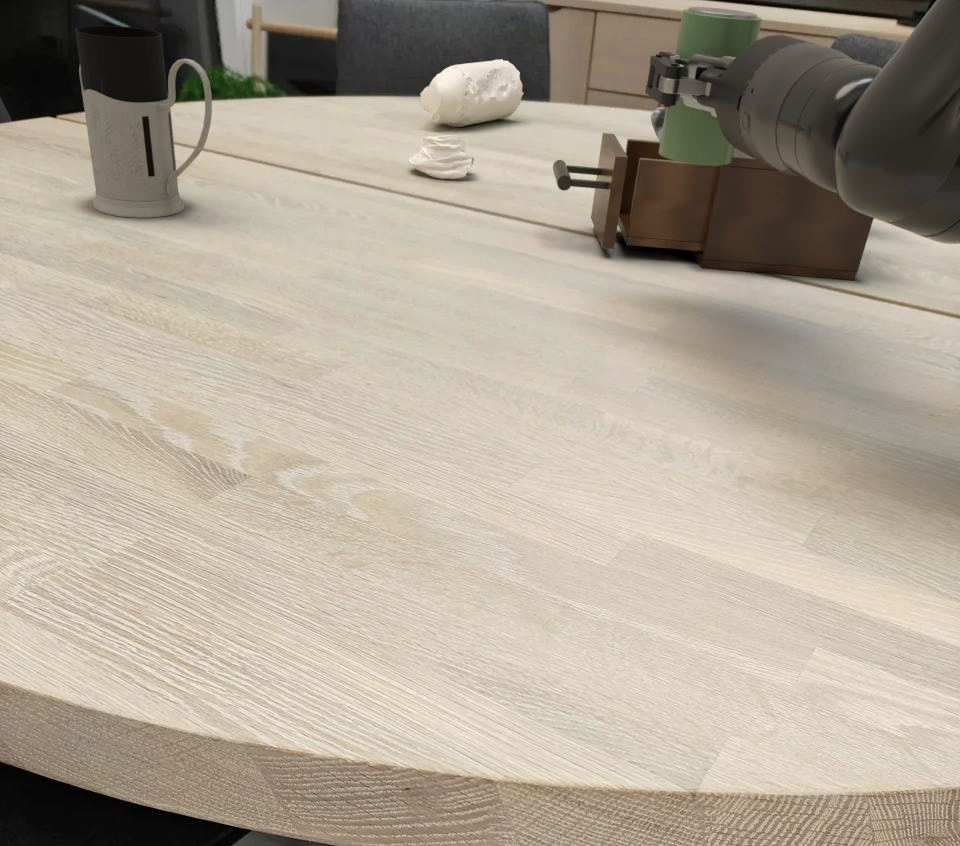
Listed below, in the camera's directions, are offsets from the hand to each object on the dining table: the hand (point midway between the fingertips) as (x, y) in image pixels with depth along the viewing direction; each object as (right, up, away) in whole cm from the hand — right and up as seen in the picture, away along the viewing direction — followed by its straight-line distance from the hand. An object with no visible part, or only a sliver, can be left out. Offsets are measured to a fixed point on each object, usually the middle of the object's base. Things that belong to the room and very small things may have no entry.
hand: (698, 69), depth 80 cm
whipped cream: (-22, +11, +42) cm, 49 cm away
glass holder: (-49, -3, +19) cm, 53 cm away
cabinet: (+12, -6, +24) cm, 27 cm away
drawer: (-1, -4, +22) cm, 23 cm away
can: (0, -6, +2) cm, 6 cm away
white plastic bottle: (-19, +31, +69) cm, 78 cm away
